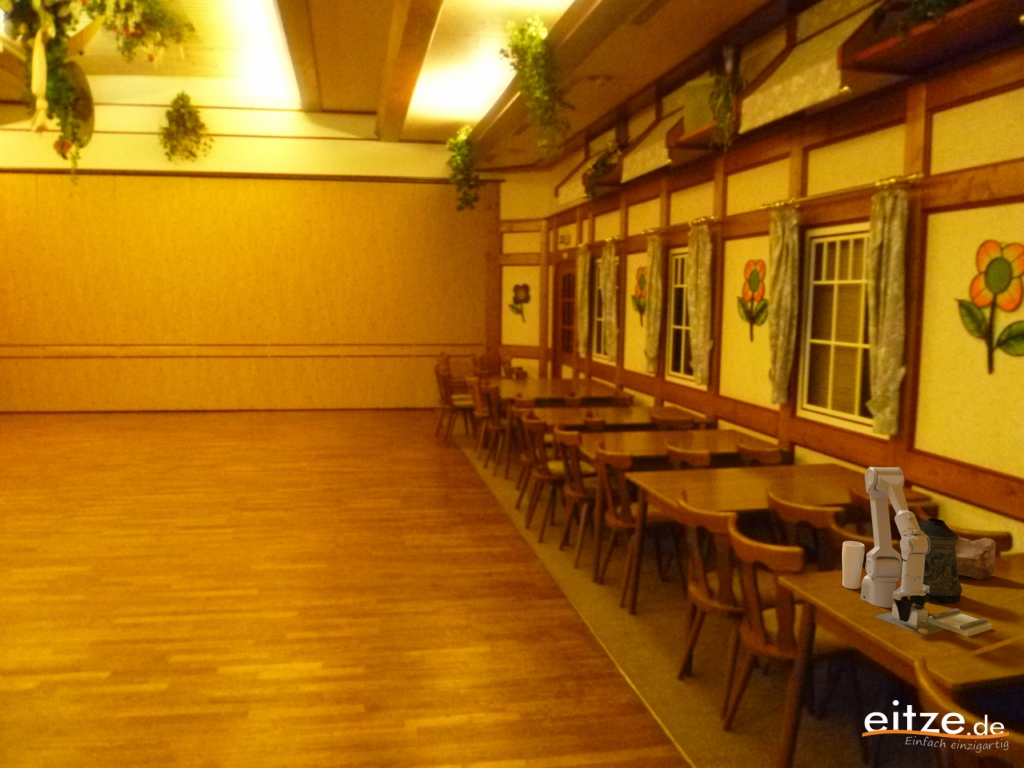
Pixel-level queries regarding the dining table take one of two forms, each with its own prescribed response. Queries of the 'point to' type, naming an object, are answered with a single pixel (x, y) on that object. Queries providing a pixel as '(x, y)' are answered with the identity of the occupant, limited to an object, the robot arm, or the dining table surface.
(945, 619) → the stand
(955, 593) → the beer stein
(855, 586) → the drinking glass
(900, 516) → the robot arm
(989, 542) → the rough brown rock
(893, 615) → the housing
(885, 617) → the mat
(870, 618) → the dining table surface
